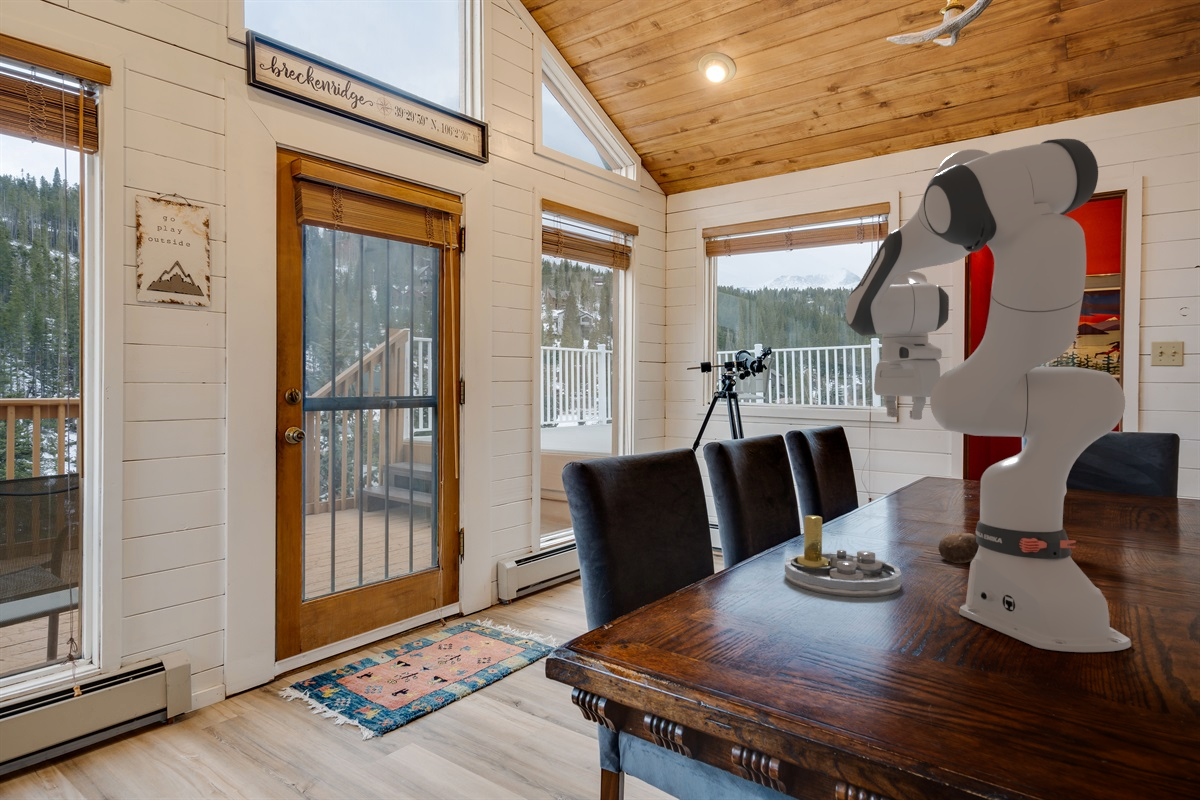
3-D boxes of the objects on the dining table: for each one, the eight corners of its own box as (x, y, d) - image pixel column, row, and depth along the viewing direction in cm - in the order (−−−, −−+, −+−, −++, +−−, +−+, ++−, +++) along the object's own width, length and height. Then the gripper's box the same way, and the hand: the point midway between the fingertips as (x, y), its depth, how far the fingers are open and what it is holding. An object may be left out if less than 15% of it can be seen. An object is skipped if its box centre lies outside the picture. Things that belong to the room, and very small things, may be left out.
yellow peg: (832, 572, 127) (833, 520, 126) (803, 572, 126) (803, 520, 126) (822, 564, 132) (822, 514, 132) (793, 564, 132) (794, 514, 132)
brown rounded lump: (977, 541, 143) (966, 519, 142) (994, 564, 136) (983, 541, 134) (940, 556, 146) (928, 535, 144) (955, 580, 138) (943, 558, 136)
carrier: (922, 596, 117) (923, 564, 116) (808, 598, 115) (808, 566, 115) (869, 564, 137) (869, 538, 136) (771, 566, 135) (771, 539, 135)
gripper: (867, 353, 152) (866, 415, 153) (915, 349, 132) (914, 421, 132) (894, 354, 153) (893, 415, 153) (947, 349, 132) (945, 420, 133)
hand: (903, 418), depth 142 cm, fingers open, 8 cm apart
